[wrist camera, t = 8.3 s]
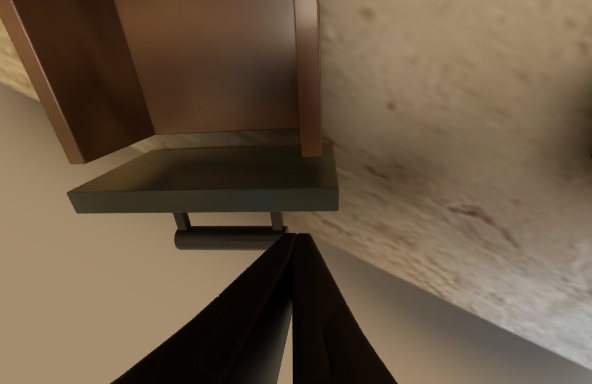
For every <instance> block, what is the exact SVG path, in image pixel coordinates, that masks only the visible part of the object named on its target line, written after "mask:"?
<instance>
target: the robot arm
mask: <svg viewBox="0 0 592 384" xmlns="http://www.w3.org/2000/svg"><path fill="white" fill-rule="evenodd" d="M591 157H592V156H591ZM291 316H292V324H293V325H292V331H293V332H292V334H293V335H292V336H293V384H398V383H397V382H396V381H395V379H394V378H393V376H392V375H391V373H390V372H389V371H388V369H387V368H386V366H385V365H384V363H383V362H382V360H381V359H380V358H379V356H378V355H377V353H376V352H375V350H374V349H373V347H372V346H371V344H370V343H369V341H368V340H367V338H366V337H365V335H364V334H363V332H362V330H361V329H360V327H359V325H358V323H357V322H356V320H355V318H354V316H353V314H352V313H351V311H350V309H349V307H348V305H346V302H345V300H344V298H343V296H342V294H341V292H340V290H339V288H338V286H337V284H336V283H335V280H334V279H333V277H332V275H331V273H330V271H329V269H328V267H327V265H326V263H325V261H324V259H323V258H322V256H321V254H320V252H319V250H318V248H317V246H316V244H315V242H314V241H313V239H312V237H311V235H310V234H309V233H299V234H298V235H297V234H296V233H285V234H283V235H282V236H281V237H280V238H279V239H278V240H277V241H276V242H275V243H274V244H273V245H272V246H271V247H269V248H268V249H267V250H266V251H265V252H264V253H263V254H262V255H261V256H260V257H259V258H258V259H257V260H256V261H255V262H254V263H253V264H252V265H250V266H249V267H248V268H247V269H246V270H245V271H244V272H243V273H242V274H241V275H240V276H239V277H238V278H237V279H236V280H234V281H233V282H232V283H231V284H230V285H229V286H228V287H227V288H226V289H225V290H224V291H223V292H222V293H221V294H219V297H216V298H215V299H214V300H213V301H212V302H211V303H210V304H209V305H208V306H206V307H205V308H204V309H203V310H202V311H201V312H200V313H199V314H198V315H196V316H195V317H194V318H193V319H192V320H191V321H190V322H188V323H187V324H186V325H185V326H183V327H182V328H181V329H180V330H178V331H177V332H176V333H175V334H174V335H172V336H171V337H170V338H169V339H167V340H166V341H165V342H163V343H162V344H161V345H160V346H158V347H157V348H156V349H155V350H153V351H152V352H151V353H150V354H148V355H147V356H146V357H144V358H143V359H142V360H141V361H139V362H138V363H137V364H136V365H134V366H133V367H132V368H130V369H129V370H128V371H127V372H126V373H124V374H123V375H121V376H120V377H119V378H117V379H116V380H115V381H113V382H112V383H110V384H277V380H278V376H279V371H280V366H281V362H282V357H283V353H284V348H285V343H286V339H287V334H288V329H289V325H290V320H291Z"/></svg>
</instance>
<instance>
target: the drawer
mask: <svg viewBox="0 0 592 384" xmlns="http://www.w3.org/2000/svg"><path fill="white" fill-rule="evenodd" d="M0 17H1V20H2V22H3V24H4V26H5V28H6V30H7V32H8V34H9V36H10V38H11V41H12V43H13V45H14V47H15V49H16V51H17V53H18V55H19V57H20V59H21V62H22V64H23V66H24V68H25V70H26V72H27V74H28V76H29V78H30V81H31V83H32V85H33V87H34V89H35V91H36V93H37V95H38V97H39V99H40V102H41V104H42V106H43V108H44V110H45V112H46V114H47V116H48V118H49V120H50V123H51V124H52V127H53V129H54V131H55V133H56V135H57V137H58V139H59V141H60V143H61V146H62V148H63V150H64V152H65V154H66V156H67V158H68V160H69V162H70V164H86V163H88V162H91V161H93V160H96V159H98V158H100V157H103V156H105V155H108V154H110V153H112V152H115V151H117V150H120V149H122V148H124V147H127V146H129V145H132V144H134V143H136V142H139V141H141V140H144V139H146V138H148V137H151V136H153V135H162V134H184V133H206V132H228V131H250V130H272V129H293V128H301V144H302V145H282V146H256V147H230V148H204V149H178V150H152V151H149V152H147V153H145V154H143V155H141V156H139V157H137V158H135V159H133V160H131V161H129V162H127V163H125V164H123V165H121V166H119V167H117V168H115V169H113V170H111V171H109V172H107V173H105V174H103V175H101V176H99V177H97V178H95V179H93V180H91V181H89V182H87V183H85V184H83V185H81V186H79V187H77V188H75V189H73V190H71V191H69V192H67V195H68V197H69V199H70V201H71V203H72V205H73V207H74V209H75V211H76V213H78V214H79V213H173V215H174V218H175V221H176V224H177V227H178V229H177V231H176V233H175V238H174V241H175V245H176V247H177V248H178V249H180V250H267V249H268V248H269V247H271V246H272V245H273V244H274V243H275V242H276V241H277V240H278V239H279V238H280V237H281V236H282V235H283V234H285V233H289V231H288V227H287V226H283V214H282V212H295V211H338V210H339V185H338V177H337V170H336V162H335V154H334V147H333V144H322V99H321V51H320V3H319V0H0ZM187 212H270V213H271V220H272V226H191V224H190V220H189V217H188V213H187Z"/></svg>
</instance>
